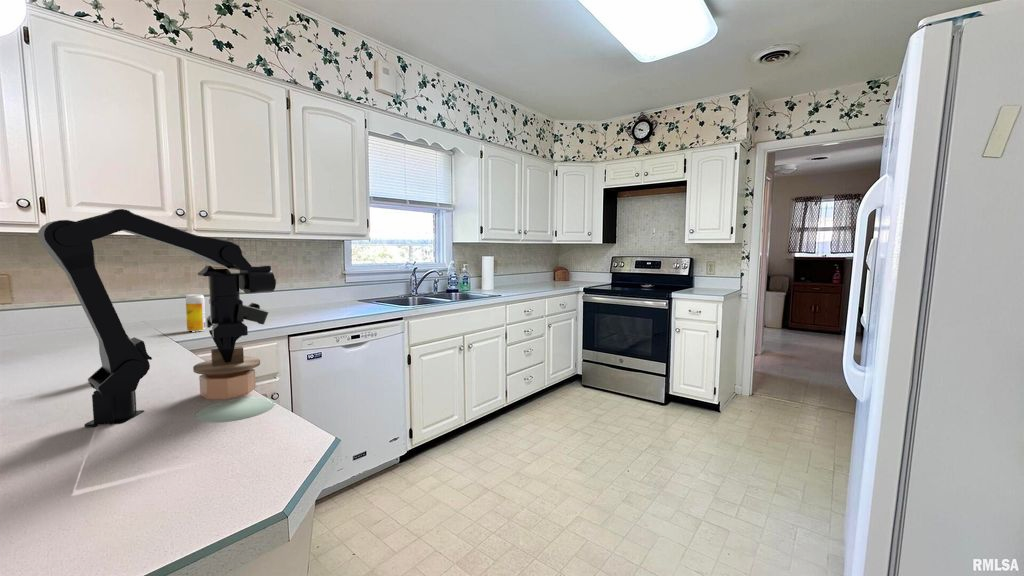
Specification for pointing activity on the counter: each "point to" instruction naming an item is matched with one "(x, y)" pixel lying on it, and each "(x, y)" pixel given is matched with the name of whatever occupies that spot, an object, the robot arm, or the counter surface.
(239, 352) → the walnut lid
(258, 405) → the sage mat
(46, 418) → the counter surface
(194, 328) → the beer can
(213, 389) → the terracotta bowl
